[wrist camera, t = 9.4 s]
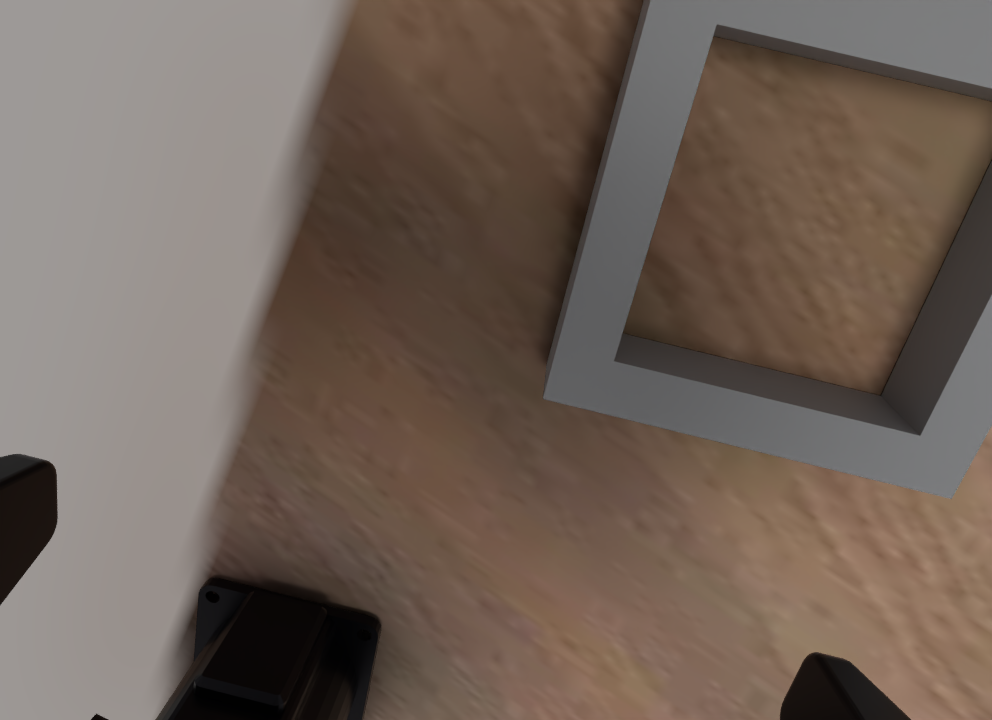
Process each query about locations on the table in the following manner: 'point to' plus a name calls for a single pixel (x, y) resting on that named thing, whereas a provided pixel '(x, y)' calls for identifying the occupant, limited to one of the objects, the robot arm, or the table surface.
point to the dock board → (753, 389)
